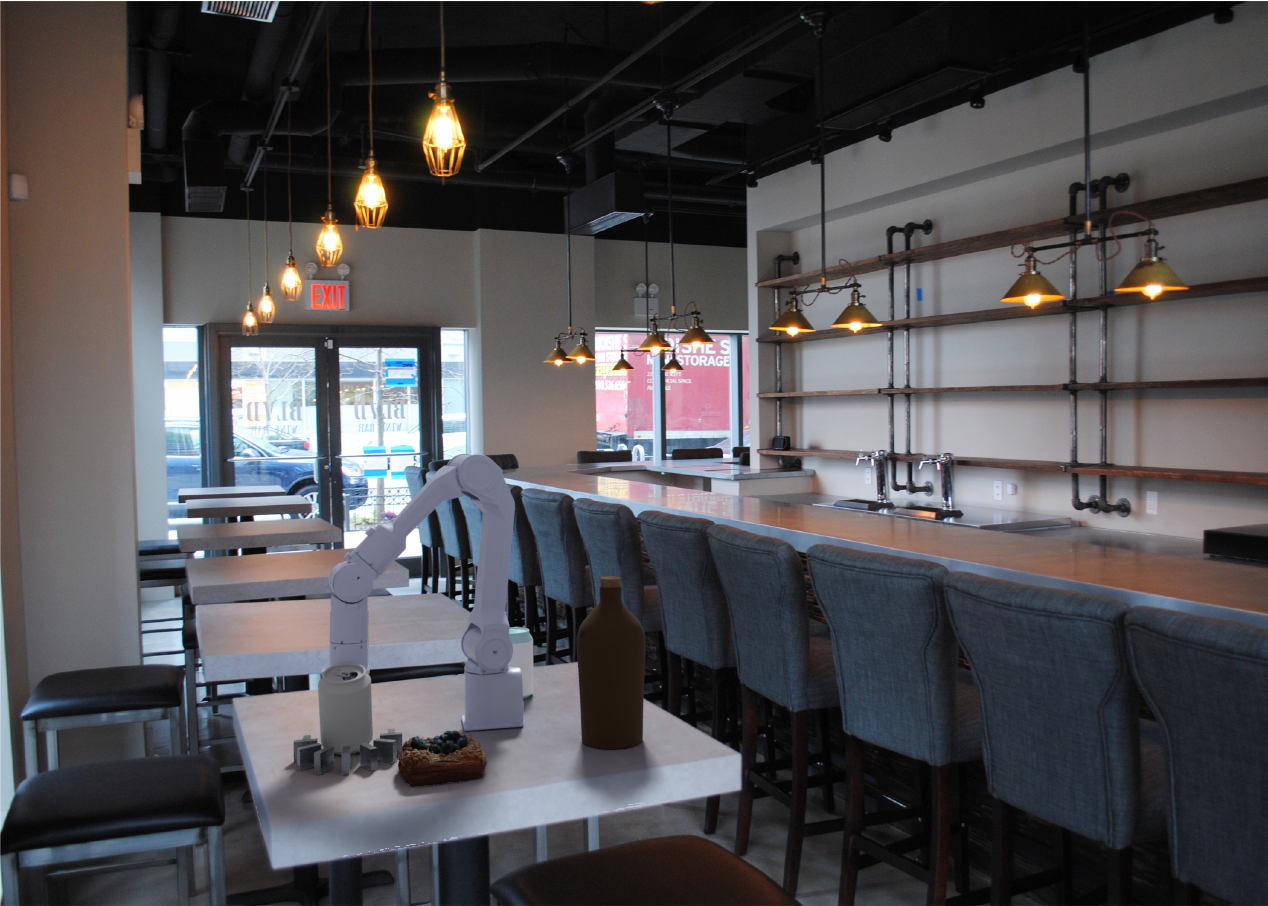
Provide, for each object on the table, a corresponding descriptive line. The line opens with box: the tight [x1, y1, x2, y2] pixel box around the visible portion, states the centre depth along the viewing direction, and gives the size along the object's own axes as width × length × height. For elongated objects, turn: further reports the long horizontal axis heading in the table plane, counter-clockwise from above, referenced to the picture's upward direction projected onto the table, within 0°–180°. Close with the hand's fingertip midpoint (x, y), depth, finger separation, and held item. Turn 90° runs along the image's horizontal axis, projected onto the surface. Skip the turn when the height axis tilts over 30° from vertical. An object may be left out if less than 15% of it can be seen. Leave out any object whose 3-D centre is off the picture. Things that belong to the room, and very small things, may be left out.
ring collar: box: [293, 728, 403, 776], centre depth 138 cm, size 15×10×3 cm
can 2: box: [509, 626, 535, 700], centre depth 173 cm, size 7×7×12 cm
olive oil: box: [576, 575, 647, 750], centre depth 147 cm, size 11×11×25 cm
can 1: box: [317, 663, 374, 756], centre depth 142 cm, size 8×8×12 cm
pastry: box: [397, 730, 488, 788], centre depth 134 cm, size 11×12×6 cm
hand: (348, 728), depth 147 cm, fingers closed, pressing on can 1
